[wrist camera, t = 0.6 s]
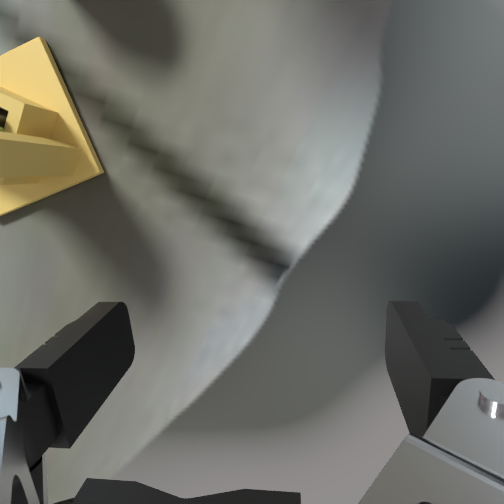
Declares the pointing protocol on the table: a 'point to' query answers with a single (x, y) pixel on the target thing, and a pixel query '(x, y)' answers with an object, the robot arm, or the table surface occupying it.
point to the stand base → (39, 130)
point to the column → (3, 118)
